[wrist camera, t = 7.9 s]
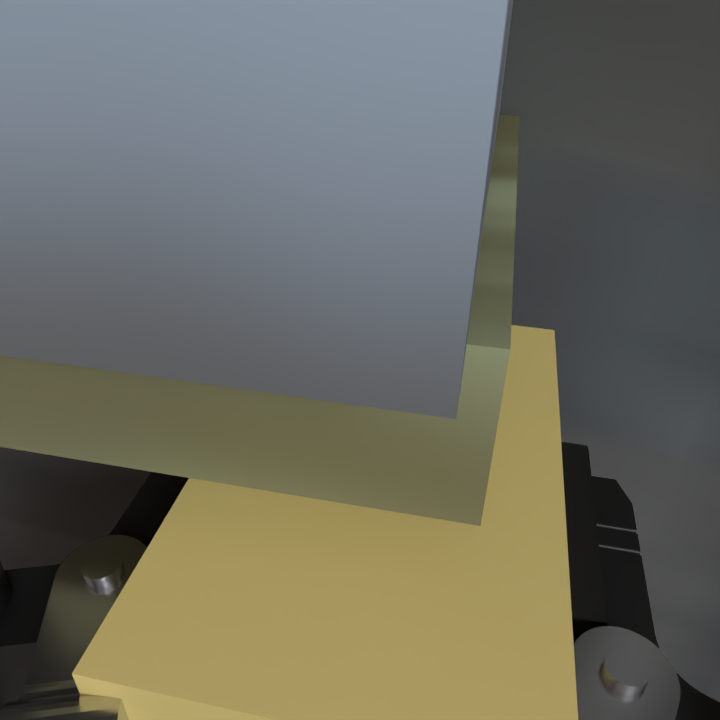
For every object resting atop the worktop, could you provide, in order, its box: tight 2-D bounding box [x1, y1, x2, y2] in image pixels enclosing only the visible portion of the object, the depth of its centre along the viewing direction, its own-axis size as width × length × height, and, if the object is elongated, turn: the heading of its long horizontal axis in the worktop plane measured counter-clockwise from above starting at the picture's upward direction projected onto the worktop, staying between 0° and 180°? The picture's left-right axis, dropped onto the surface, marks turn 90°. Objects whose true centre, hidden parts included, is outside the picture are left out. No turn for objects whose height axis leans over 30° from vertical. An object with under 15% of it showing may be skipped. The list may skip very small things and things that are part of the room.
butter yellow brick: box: [72, 325, 578, 720], centre depth 11 cm, size 4×5×8 cm
